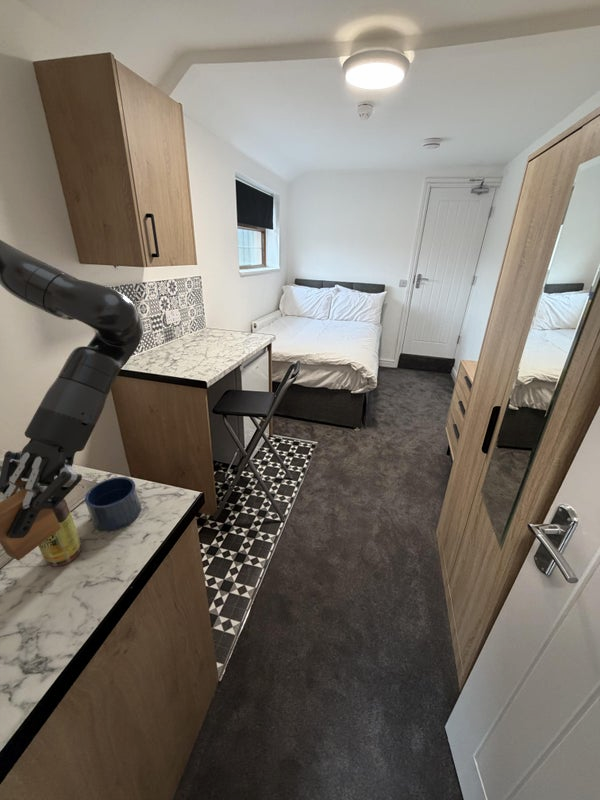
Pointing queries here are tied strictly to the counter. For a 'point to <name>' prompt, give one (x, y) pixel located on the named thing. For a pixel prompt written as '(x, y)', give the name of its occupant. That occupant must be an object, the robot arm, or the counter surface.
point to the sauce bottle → (61, 538)
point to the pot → (113, 503)
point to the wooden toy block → (42, 529)
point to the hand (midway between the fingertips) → (8, 533)
